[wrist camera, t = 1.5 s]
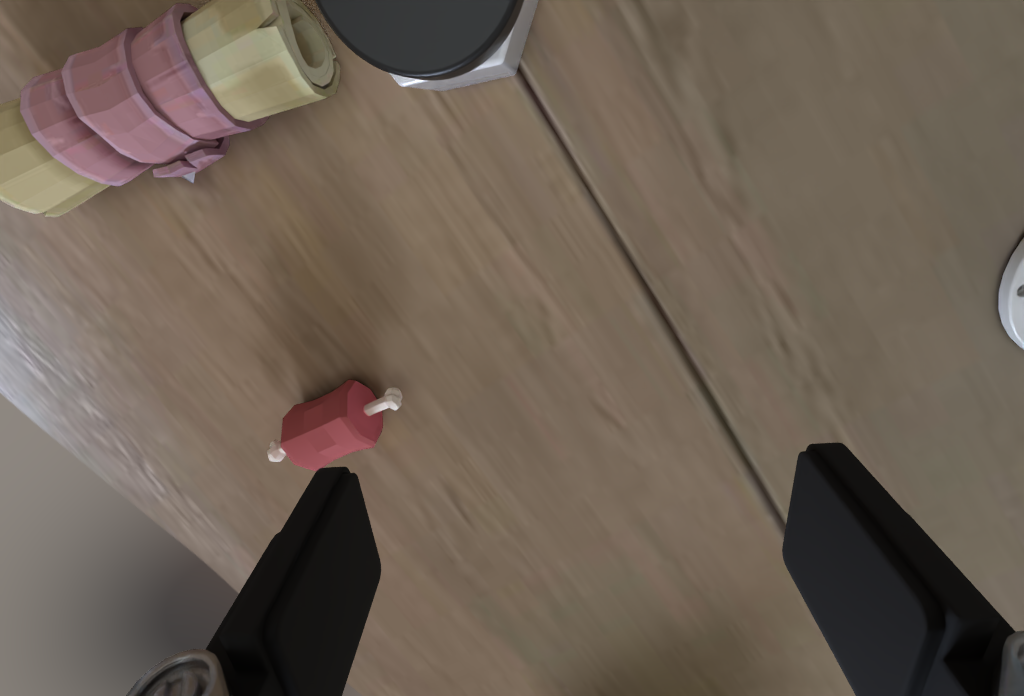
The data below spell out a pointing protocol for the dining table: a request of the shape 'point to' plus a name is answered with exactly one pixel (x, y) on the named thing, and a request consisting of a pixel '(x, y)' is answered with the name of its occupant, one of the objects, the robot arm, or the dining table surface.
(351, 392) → the meat
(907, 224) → the dining table surface
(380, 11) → the jar
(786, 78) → the dining table surface
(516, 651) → the dining table surface
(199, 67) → the scroll
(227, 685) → the robot arm
